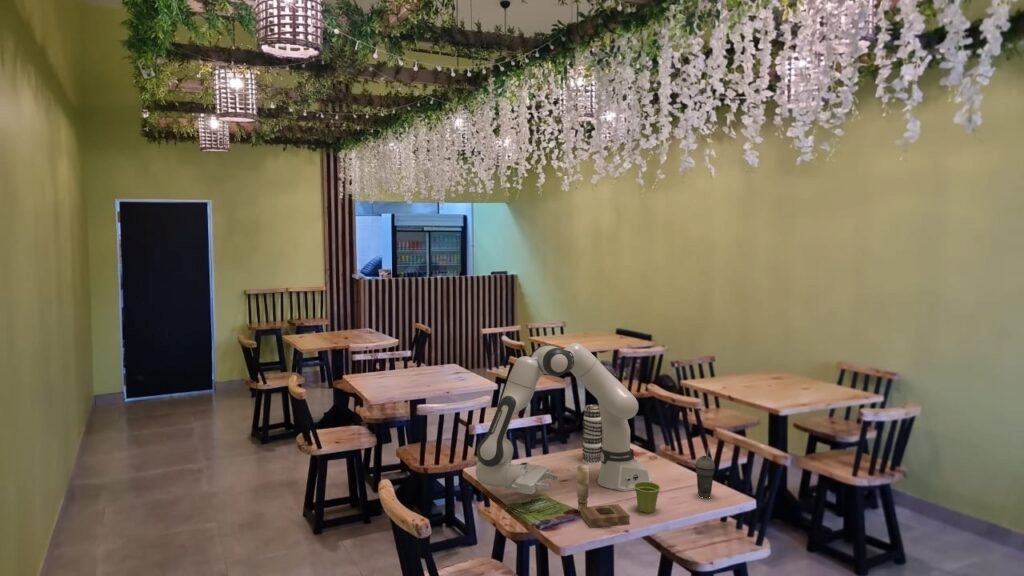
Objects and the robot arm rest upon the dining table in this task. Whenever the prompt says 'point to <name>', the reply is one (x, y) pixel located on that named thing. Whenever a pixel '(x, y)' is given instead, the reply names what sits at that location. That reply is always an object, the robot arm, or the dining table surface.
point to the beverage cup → (704, 475)
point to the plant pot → (646, 496)
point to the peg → (582, 485)
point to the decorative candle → (592, 434)
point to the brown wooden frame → (605, 515)
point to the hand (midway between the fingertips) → (553, 482)
